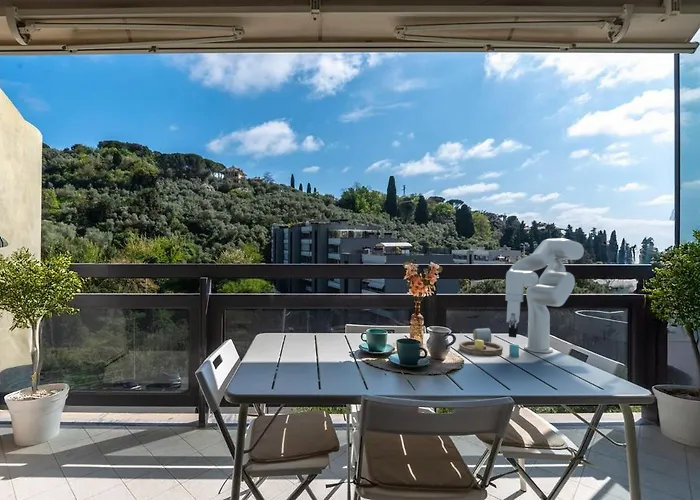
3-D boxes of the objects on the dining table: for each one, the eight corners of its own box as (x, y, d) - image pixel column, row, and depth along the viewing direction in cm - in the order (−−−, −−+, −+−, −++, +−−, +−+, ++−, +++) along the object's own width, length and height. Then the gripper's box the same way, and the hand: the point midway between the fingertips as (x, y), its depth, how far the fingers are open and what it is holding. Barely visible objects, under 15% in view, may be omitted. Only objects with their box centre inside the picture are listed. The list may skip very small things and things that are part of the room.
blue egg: (509, 354, 191) (509, 343, 191) (519, 355, 189) (519, 344, 189) (509, 356, 187) (509, 345, 187) (518, 357, 186) (518, 346, 185)
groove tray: (463, 344, 210) (463, 339, 210) (504, 348, 202) (504, 343, 202) (456, 352, 193) (456, 347, 193) (500, 358, 184) (500, 352, 184)
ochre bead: (473, 351, 191) (474, 340, 191) (475, 349, 195) (475, 339, 195) (482, 352, 190) (483, 341, 190) (484, 350, 193) (484, 340, 193)
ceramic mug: (472, 341, 218) (472, 326, 218) (488, 341, 218) (488, 327, 218) (476, 346, 208) (477, 330, 208) (493, 346, 207) (493, 331, 207)
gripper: (507, 295, 197) (505, 331, 197) (504, 298, 182) (502, 337, 181) (524, 297, 194) (522, 333, 194) (522, 299, 179) (521, 339, 178)
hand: (513, 335), depth 188 cm, fingers open, 9 cm apart
